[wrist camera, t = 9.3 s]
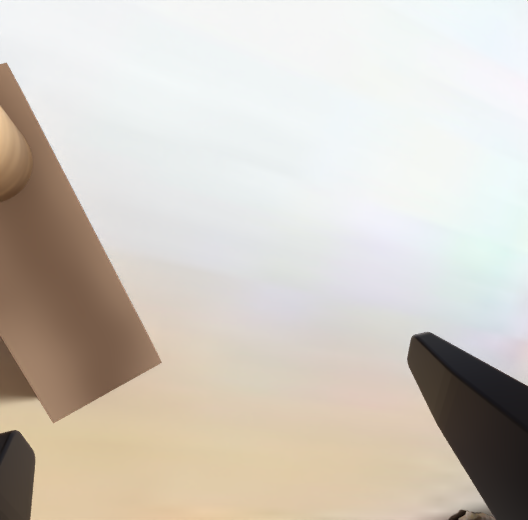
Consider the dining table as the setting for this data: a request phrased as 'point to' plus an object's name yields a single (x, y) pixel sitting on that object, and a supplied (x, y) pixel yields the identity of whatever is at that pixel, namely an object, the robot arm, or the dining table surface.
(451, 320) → the dining table surface
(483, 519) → the antler
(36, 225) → the block
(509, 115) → the dining table surface
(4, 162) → the oak rod
